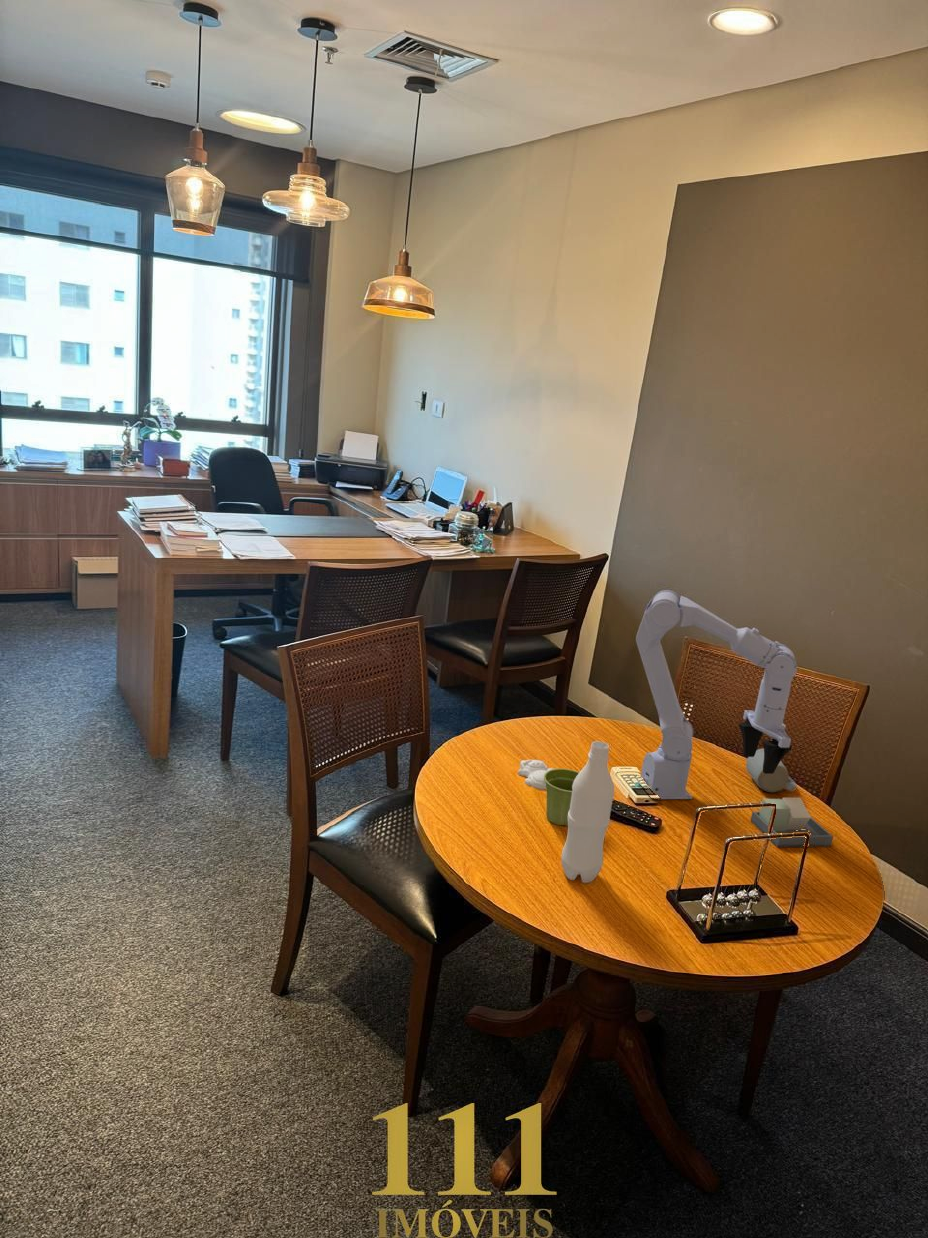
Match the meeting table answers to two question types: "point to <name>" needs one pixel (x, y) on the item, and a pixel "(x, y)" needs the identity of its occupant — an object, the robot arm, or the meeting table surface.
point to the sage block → (780, 816)
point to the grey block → (796, 814)
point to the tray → (815, 839)
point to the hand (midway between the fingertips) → (758, 764)
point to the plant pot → (559, 794)
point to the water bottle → (589, 816)
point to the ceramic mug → (769, 781)
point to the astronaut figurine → (534, 773)
